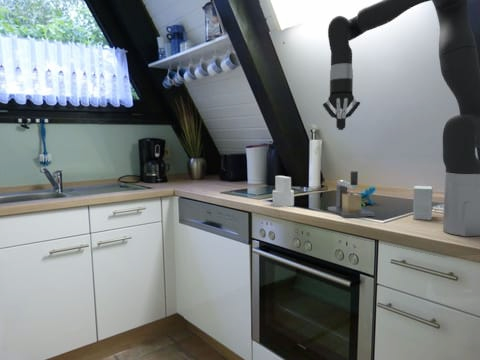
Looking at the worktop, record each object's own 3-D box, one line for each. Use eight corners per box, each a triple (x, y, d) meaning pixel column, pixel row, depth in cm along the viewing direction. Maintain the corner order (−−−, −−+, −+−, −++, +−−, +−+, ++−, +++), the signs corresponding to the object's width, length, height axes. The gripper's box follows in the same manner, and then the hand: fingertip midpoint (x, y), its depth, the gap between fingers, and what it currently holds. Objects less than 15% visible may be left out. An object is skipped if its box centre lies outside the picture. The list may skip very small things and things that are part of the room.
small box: (431, 220, 117) (432, 189, 116) (412, 219, 120) (413, 188, 119) (430, 215, 124) (432, 186, 123) (413, 214, 127) (414, 185, 126)
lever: (336, 184, 139) (336, 168, 138) (344, 184, 139) (344, 168, 139) (350, 189, 124) (351, 171, 124) (359, 189, 125) (360, 171, 124)
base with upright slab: (269, 203, 154) (268, 176, 153) (287, 202, 157) (287, 175, 156) (278, 207, 146) (278, 178, 144) (297, 205, 149) (297, 177, 148)
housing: (361, 211, 128) (361, 191, 128) (348, 212, 128) (348, 192, 127) (354, 208, 133) (355, 189, 133) (342, 209, 133) (342, 190, 132)
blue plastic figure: (364, 197, 155) (377, 183, 148) (373, 208, 153) (387, 194, 146) (347, 203, 150) (360, 189, 142) (356, 214, 147) (370, 200, 140)
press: (374, 216, 125) (374, 190, 124) (344, 218, 124) (345, 191, 123) (353, 207, 141) (353, 184, 140) (326, 209, 139) (326, 185, 138)
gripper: (358, 80, 125) (357, 129, 127) (320, 81, 127) (320, 130, 129) (363, 76, 118) (362, 129, 120) (323, 77, 119) (322, 130, 121)
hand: (340, 129), depth 124 cm, fingers closed
